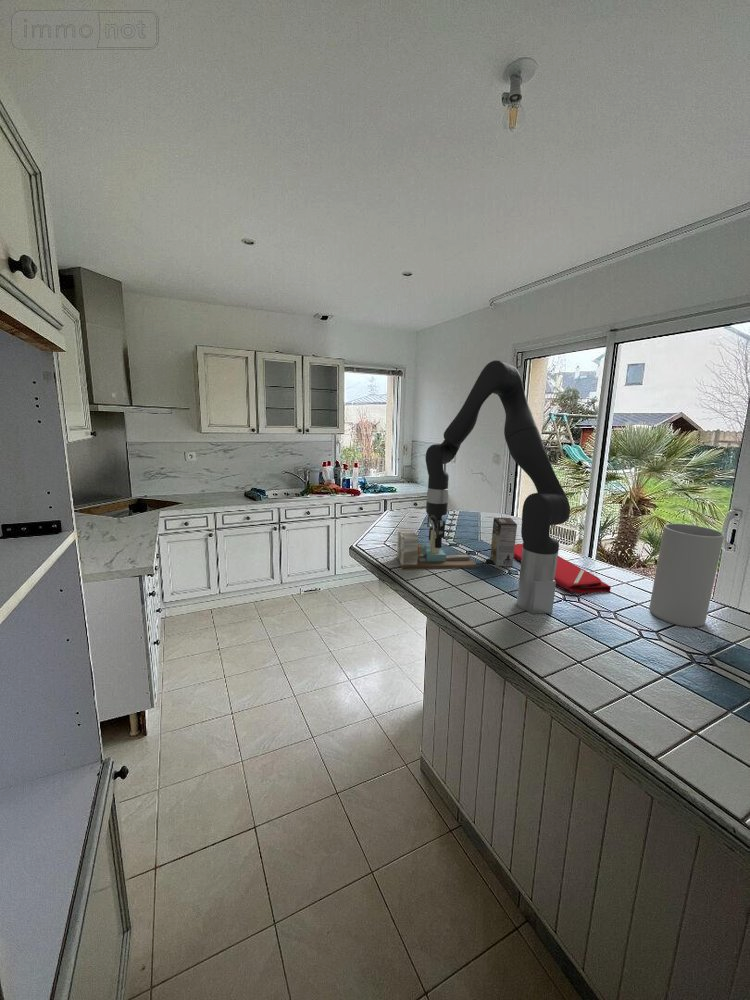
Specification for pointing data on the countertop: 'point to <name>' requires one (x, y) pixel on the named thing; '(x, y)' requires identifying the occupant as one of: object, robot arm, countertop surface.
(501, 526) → the coffee box
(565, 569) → the folded red towel
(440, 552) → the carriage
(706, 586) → the cylinder vase
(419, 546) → the button
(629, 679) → the countertop surface
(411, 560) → the rail bench
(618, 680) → the countertop surface
